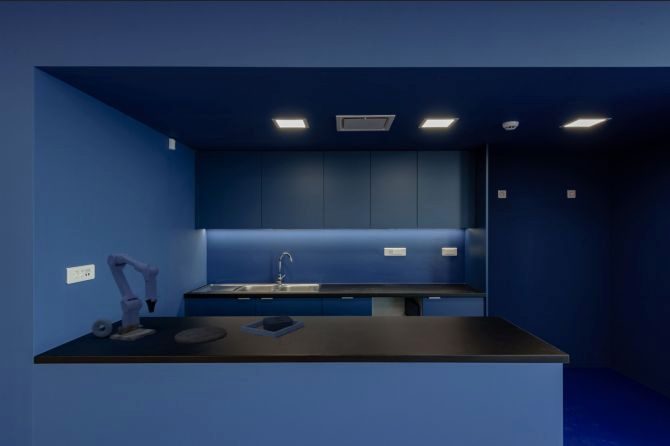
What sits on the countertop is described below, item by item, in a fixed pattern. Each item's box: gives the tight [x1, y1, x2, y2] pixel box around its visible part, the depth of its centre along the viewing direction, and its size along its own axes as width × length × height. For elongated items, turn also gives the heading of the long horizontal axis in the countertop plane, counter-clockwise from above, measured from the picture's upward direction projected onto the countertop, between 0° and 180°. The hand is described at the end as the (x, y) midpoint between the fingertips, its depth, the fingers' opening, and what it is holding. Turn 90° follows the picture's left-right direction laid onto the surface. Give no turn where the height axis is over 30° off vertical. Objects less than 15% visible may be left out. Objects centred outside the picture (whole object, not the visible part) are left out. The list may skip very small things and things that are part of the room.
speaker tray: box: [240, 319, 305, 339], centre depth 205 cm, size 24×24×2 cm
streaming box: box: [262, 315, 294, 332], centre depth 206 cm, size 14×14×5 cm
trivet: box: [174, 326, 227, 345], centre depth 194 cm, size 25×25×2 cm
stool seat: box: [109, 324, 157, 342], centre depth 198 cm, size 15×15×4 cm
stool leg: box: [117, 322, 140, 335], centre depth 200 cm, size 12×3×4 cm, turn 164°
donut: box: [91, 317, 113, 338], centre depth 197 cm, size 10×4×10 cm, turn 93°
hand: (151, 312), depth 210 cm, fingers closed
